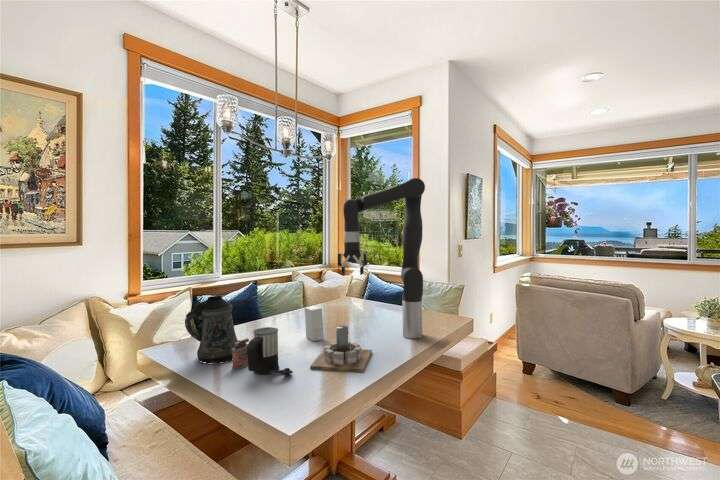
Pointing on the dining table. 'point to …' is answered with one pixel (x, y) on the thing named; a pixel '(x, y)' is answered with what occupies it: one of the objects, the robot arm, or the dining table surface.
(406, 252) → the robot arm
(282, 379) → the dining table surface
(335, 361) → the castellated collar
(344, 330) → the metal pin
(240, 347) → the lighter
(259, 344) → the milk frother
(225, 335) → the beer stein
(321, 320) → the skincare box
